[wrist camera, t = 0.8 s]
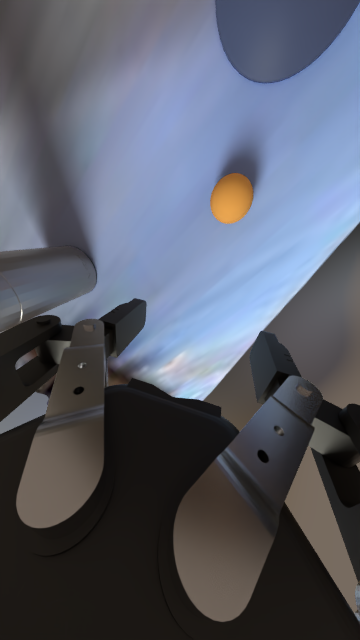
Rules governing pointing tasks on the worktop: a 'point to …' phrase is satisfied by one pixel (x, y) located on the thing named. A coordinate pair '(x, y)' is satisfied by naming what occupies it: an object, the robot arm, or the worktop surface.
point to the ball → (231, 198)
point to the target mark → (278, 34)
